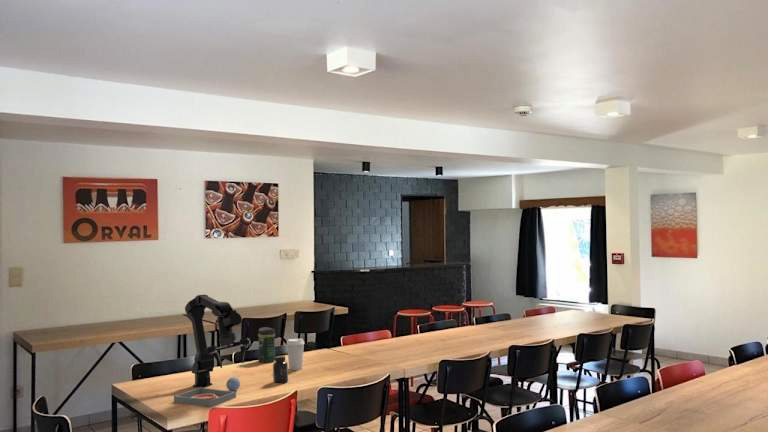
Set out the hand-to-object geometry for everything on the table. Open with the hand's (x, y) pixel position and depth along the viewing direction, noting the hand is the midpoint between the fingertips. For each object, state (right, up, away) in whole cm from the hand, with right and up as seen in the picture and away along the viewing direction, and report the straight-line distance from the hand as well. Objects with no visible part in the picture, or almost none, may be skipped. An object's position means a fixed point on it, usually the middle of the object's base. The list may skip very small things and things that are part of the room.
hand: (232, 365), depth 281 cm
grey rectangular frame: (-10, -13, -6) cm, 18 cm away
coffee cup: (+21, -14, +52) cm, 58 cm away
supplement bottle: (+17, -13, +23) cm, 32 cm away
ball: (-1, -10, +8) cm, 13 cm away
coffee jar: (+2, -15, +73) cm, 74 cm away
